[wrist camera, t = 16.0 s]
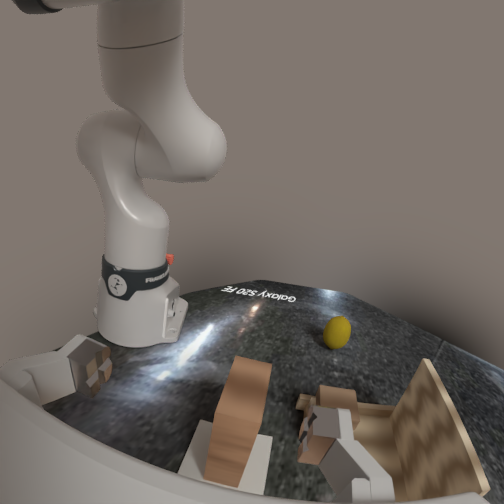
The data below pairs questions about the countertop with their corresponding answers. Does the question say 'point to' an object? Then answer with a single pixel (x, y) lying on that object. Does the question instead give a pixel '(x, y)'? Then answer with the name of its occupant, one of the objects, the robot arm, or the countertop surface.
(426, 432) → the rack
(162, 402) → the countertop surface
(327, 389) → the offcut stack
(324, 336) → the lemon
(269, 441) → the pad
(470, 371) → the countertop surface
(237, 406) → the oak board
